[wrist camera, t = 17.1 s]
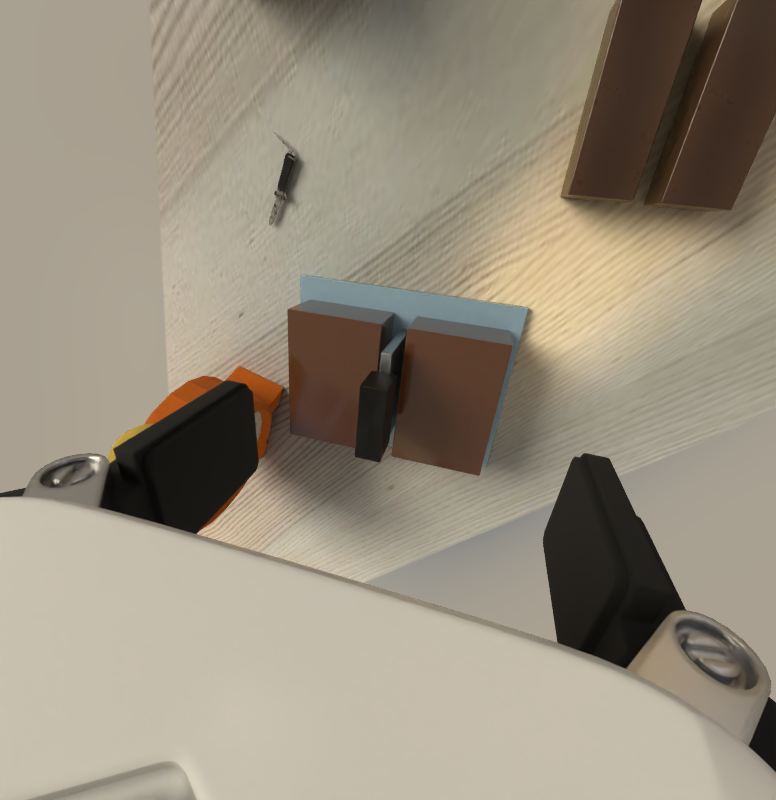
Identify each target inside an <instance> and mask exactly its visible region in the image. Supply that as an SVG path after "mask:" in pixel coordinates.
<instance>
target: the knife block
mask: <svg viewBox="0 0 776 800" xmlns="http://www.w3.org/2000/svg"><path fill="white" fill-rule="evenodd" d="M701 2H702V0H617V1H616V2H615V4H614V6H613V7H612V9H611V11H610V13H609V17H608V20H607V24H606V28H605V32H604V35H603V39H602V43H601V47H600V50H599V54H598V58H597V62H596V65H595V69H594V73H593V77H592V80H591V84H590V88H589V91H588V95H587V99H586V103H585V106H584V110H583V114H582V118H581V121H580V125H579V129H578V133H577V136H576V140H575V144H574V148H573V151H572V155H571V159H570V163H569V166H568V170H567V174H566V178H565V181H564V185H563V189H562V192H561V197H562V198H573V199H583V200H594V201H604V202H615V203H620V202H627V201H632V200H633V199H634V196H635V193H636V191H637V188H638V185H639V182H640V179H641V176H642V173H643V170H644V167H645V164H646V162H647V159H648V156H649V153H650V150H651V147H652V144H653V141H654V138H655V135H656V133H657V130H658V127H659V124H660V121H661V118H662V115H663V112H664V109H665V107H666V104H667V101H668V98H669V95H670V92H671V89H672V86H673V83H674V80H675V78H676V75H677V72H678V69H679V66H680V63H681V60H682V57H683V54H684V51H685V49H686V46H687V43H688V40H689V37H690V34H691V31H692V28H693V25H694V22H695V20H696V17H697V14H698V11H699V8H700V5H701ZM775 112H776V0H726V1H725V2H724V3H723V4H722V5H721V6H720V7H719V8H718V9H717V10H716V11H715V12H714V13H713V14H712V16H711V19H710V22H709V25H708V28H707V30H706V33H705V36H704V39H703V42H702V44H701V47H700V50H699V53H698V56H697V58H696V61H695V64H694V67H693V69H692V72H691V75H690V78H689V81H688V83H687V86H686V89H685V92H684V95H683V97H682V100H681V103H680V106H679V109H678V111H677V114H676V117H675V120H674V122H673V125H672V128H671V131H670V134H669V136H668V139H667V142H666V145H665V148H664V150H663V153H662V156H661V159H660V162H659V164H658V167H657V170H656V173H655V176H654V178H653V181H652V184H651V187H650V189H649V192H648V195H647V198H646V201H645V203H644V205H646V206H657V207H667V208H678V209H688V210H699V211H719V210H731V209H732V207H733V205H734V202H735V200H736V198H737V196H738V194H739V191H740V189H741V187H742V185H743V183H744V180H745V178H746V176H747V174H748V172H749V169H750V167H751V165H752V163H753V161H754V158H755V156H756V154H757V152H758V149H759V147H760V145H761V143H762V141H763V138H764V136H765V134H766V132H767V130H768V127H769V125H770V123H771V121H772V119H773V116H774V114H775Z"/></svg>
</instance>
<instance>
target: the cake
mask: <svg viewBox="0 0 776 800" xmlns="http://www.w3.org/2000/svg"><path fill="white" fill-rule="evenodd" d="M300 297H301V304H299V305H296V306H294V307H292V308H289V309H288V350H289V395H290V434H294V435H298V436H303V437H307V438H312V439H316V440H321V441H325V442H330V443H334V444H339V445H343V446H348V447H352V448H355V447H356V433H357V419H358V405H359V391H360V385H361V384H362V382H363V381H364V380H365V379H366V377H367V376H368V375H369V373H370V372H371V371H377V372H379V371H380V360H381V353H382V351H383V350H384V349H385V348H386V347H387V345H388V344H389V343H390V342H391V341H392V339H393V338H394V337H395V336H396V334H397V333H398V332H399V331H400V330H401V329H403V330H407V333H406V341H405V350H404V358H403V366H402V374H401V382H400V390H399V398H398V406H397V414H396V423H395V425H394V428H393V430H392V432H391V434H390V439H389V443H388V446H390V447H392V456H393V457H397V458H402V459H406V460H411V461H415V462H420V463H424V464H429V465H433V466H438V467H442V468H447V469H451V470H456V471H460V472H465V473H469V474H474V475H478V476H479V475H480V472H481V468H482V467H487V463H488V460H489V456H490V452H491V448H492V444H493V441H494V437H495V433H496V429H497V426H498V422H499V418H500V414H501V410H502V407H503V403H504V399H505V395H506V392H507V388H508V384H509V380H510V377H511V373H512V369H513V365H514V361H515V358H516V354H517V350H518V346H519V343H520V339H521V335H522V331H523V327H524V324H525V320H526V316H527V312H528V307H523V306H516V305H509V304H503V303H496V302H489V301H482V300H475V299H468V298H461V297H454V296H447V295H440V294H433V293H426V292H420V291H413V290H406V289H399V288H392V287H385V286H378V285H371V284H364V283H357V282H350V281H343V280H337V279H330V278H323V277H316V276H309V275H300Z"/></svg>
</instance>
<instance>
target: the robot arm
mask: <svg viewBox="0 0 776 800" xmlns="http://www.w3.org/2000/svg"><path fill="white" fill-rule="evenodd" d="M113 450H114V454H115V457H116V459H115V460H114V461H112V462H111V463H109V460H108V459H107V458H106V457H105V456H102V455H99V454H91V453H88V454H77V455H72V456H68V457H64V458H62V459H59V460H56V461H54V462H52V463H50V464H48V465H46V466H44V467H43V468H41V469H40V470H38V471H37V472H36V473H35V474H34V476H33V477H32V478H31V480H30V482H29V484H28V486H27V488H23V489H18V490H13V491H9V492H4V493H0V800H776V702H774V701H773V700H772V699H771V698H770V697H769V695H770V689H771V680H770V677H769V675H768V672H767V670H766V667H765V666H764V664H763V663H762V661H761V660H760V658H759V657H758V656H757V654H756V653H755V652H754V651H753V650H752V649H751V648H750V647H749V646H748V645H747V643H746V642H745V641H744V640H743V639H741V638H740V637H739V636H738V635H736V634H735V633H734V632H733V631H731V630H730V629H729V628H727V627H725V626H724V625H722V624H721V623H719V622H717V621H716V620H714V619H712V618H710V617H707V616H705V615H703V614H700V613H697V612H692V611H687V610H686V609H685V607H684V605H683V603H682V601H681V599H680V597H679V595H678V593H677V591H676V589H675V587H674V585H673V582H672V580H671V579H670V576H669V574H668V572H667V570H666V568H665V566H664V564H663V562H662V560H661V558H660V556H659V554H658V552H657V550H656V547H655V545H654V543H653V541H652V539H651V537H650V535H649V533H648V531H647V529H646V527H645V525H644V523H643V521H642V520H641V518H639V517H638V516H636V514H635V512H634V510H633V508H632V505H631V503H630V501H629V499H628V497H627V495H626V493H625V491H624V489H623V486H622V484H621V482H620V480H619V478H618V476H617V474H616V472H615V469H614V467H613V465H612V463H611V461H610V459H609V458H606V457H601V456H596V455H591V454H586V453H584V454H583V455H582V456H581V457H580V458H579V457H574V458H573V460H572V462H571V464H570V467H569V469H568V472H567V475H566V477H565V480H564V482H563V485H562V488H561V490H560V493H559V495H558V498H557V501H556V503H555V506H554V508H553V511H552V514H551V516H550V519H549V521H548V524H547V527H546V529H545V532H544V537H543V547H544V553H545V560H546V567H547V574H548V581H549V588H550V594H551V601H552V607H553V615H554V621H555V628H556V635H557V642H558V643H557V642H553V641H550V640H547V639H544V638H541V637H538V636H535V635H532V634H528V633H525V632H522V631H519V630H516V629H513V628H509V627H506V626H503V625H500V624H497V623H494V622H491V621H487V620H484V619H481V618H478V617H475V616H471V615H467V614H464V613H461V612H458V611H455V610H451V609H448V608H444V607H441V606H438V605H435V604H431V603H428V602H425V601H421V600H418V599H415V598H411V597H408V596H405V595H401V594H398V593H395V592H391V591H388V590H385V589H381V588H378V587H375V586H371V585H368V584H365V583H361V582H358V581H355V580H351V579H348V578H344V577H341V576H338V575H334V574H331V573H328V572H324V571H321V570H317V569H314V568H311V567H307V566H304V565H300V564H297V563H294V562H290V561H287V560H283V559H280V558H277V557H273V556H270V555H266V554H263V553H260V552H256V551H253V550H249V549H246V548H242V547H239V546H235V545H232V544H228V543H225V542H222V541H218V540H215V539H211V538H208V537H204V536H201V535H197V533H198V532H199V531H200V530H201V529H202V527H203V526H204V525H205V524H206V523H207V522H208V521H209V520H210V519H211V518H212V517H213V516H214V515H215V514H216V513H217V512H218V511H219V509H220V508H221V507H222V506H223V505H224V504H225V503H226V502H227V501H228V500H229V499H230V498H231V497H232V496H233V495H234V494H235V493H236V491H237V490H238V489H239V488H240V487H241V486H242V485H243V484H244V483H245V482H246V481H247V480H248V479H249V478H250V477H251V476H252V475H253V473H254V472H255V471H256V469H257V467H258V463H259V459H258V447H257V435H256V423H255V411H254V400H253V392H252V390H250V389H249V388H248V386H247V385H246V384H244V383H240V382H235V381H230V380H227V381H224V382H223V383H221V384H219V385H218V386H216V387H214V388H213V389H211V390H209V391H208V392H206V393H204V394H203V395H201V396H199V397H198V398H196V399H194V400H193V401H191V402H189V403H188V404H186V405H184V406H183V407H181V408H180V409H178V410H176V411H175V412H173V413H171V414H170V415H168V416H166V417H165V418H163V419H161V420H160V421H158V422H156V423H155V424H153V425H151V426H150V427H148V428H146V429H145V430H143V431H142V432H140V433H138V434H137V435H135V436H133V437H132V438H130V439H128V440H127V441H125V442H123V443H122V444H120V445H118V446H117V447H115V448H113Z"/></svg>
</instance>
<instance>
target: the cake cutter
mask: <svg viewBox="0 0 776 800" xmlns="http://www.w3.org/2000/svg"><path fill="white" fill-rule="evenodd" d="M406 333H407V330H403V329H401V330H400V331H399V332H398V333H397V334H396V336H395V337H394V338H393V339H392V341H391V342H390V343H389V344H388V345H387V347H386V348H385V349H384V350H383V351H382V353H381V360H380V371H379V372H377V371H371V372H370V373H369V375H368V376H367V377H366V379H365V380H364V381H363V382H362V384H361V385H360V391H359V405H358V419H357V433H356V447H355V457H358V458H362V459H367V460H371V461H375V462H380V461H381V459H382V457H383V455H384V452H385V450H386V448H387V446H388V443H389V439H390V434H391V432H392V430H393V428H394V425H395V423H396V414H397V406H398V398H399V390H400V382H401V374H402V366H403V358H404V350H405V341H406Z"/></svg>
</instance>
